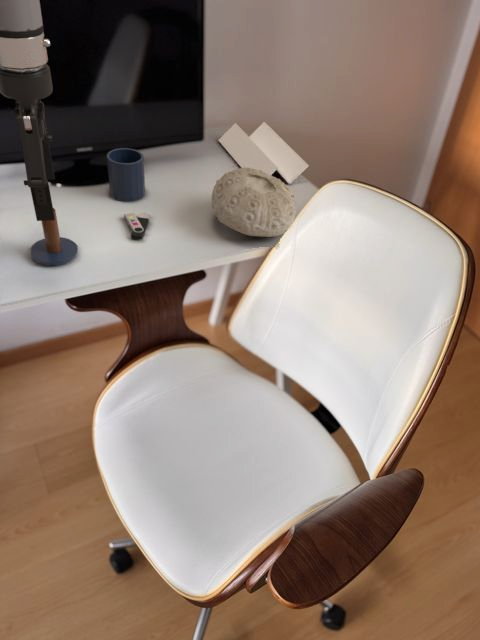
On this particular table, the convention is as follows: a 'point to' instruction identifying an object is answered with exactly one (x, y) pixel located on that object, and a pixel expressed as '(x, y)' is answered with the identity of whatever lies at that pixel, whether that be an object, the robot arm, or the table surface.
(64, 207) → the table surface
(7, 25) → the robot arm
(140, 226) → the usb flash drive
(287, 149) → the z bracket
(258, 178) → the decorative shell
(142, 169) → the tin
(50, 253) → the lid
